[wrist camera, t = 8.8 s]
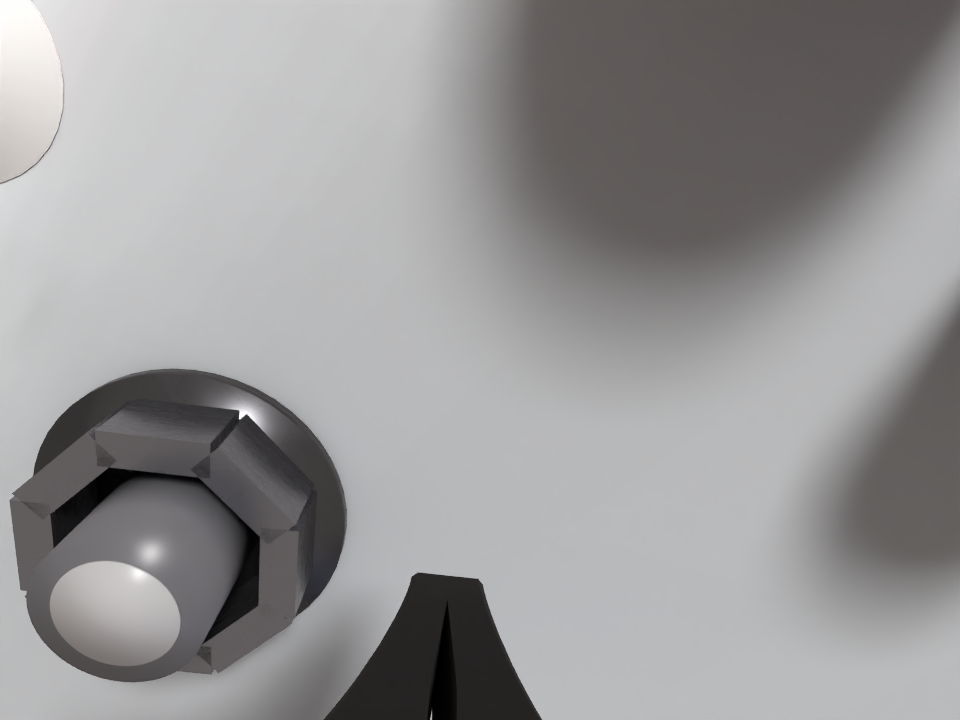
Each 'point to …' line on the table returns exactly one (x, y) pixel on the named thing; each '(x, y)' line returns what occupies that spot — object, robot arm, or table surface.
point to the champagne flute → (26, 87)
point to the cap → (140, 578)
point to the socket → (220, 465)
